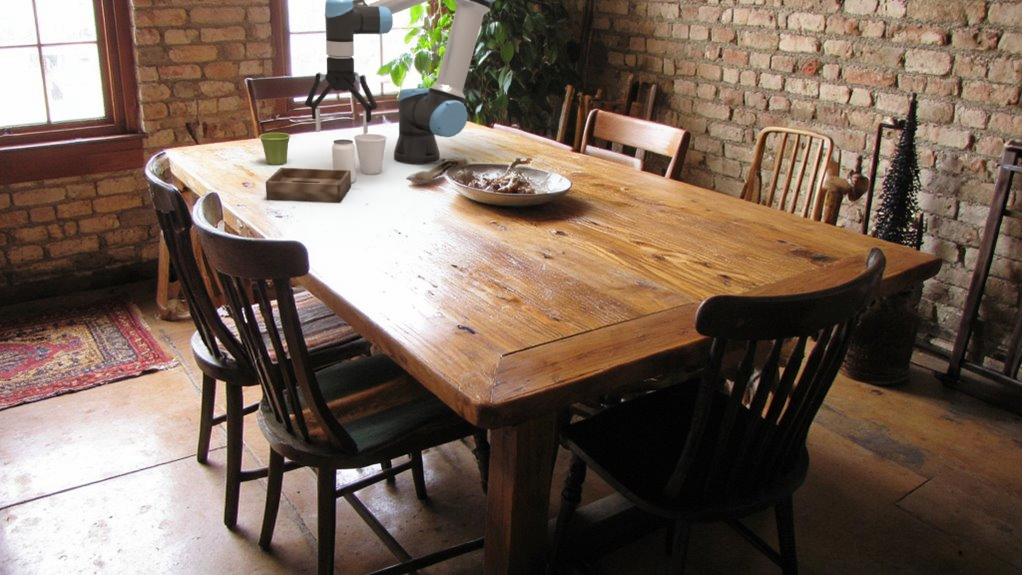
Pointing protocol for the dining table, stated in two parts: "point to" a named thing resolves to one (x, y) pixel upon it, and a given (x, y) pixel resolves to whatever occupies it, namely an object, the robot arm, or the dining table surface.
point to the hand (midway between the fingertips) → (342, 132)
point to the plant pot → (275, 147)
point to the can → (344, 156)
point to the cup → (370, 152)
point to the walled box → (308, 185)
